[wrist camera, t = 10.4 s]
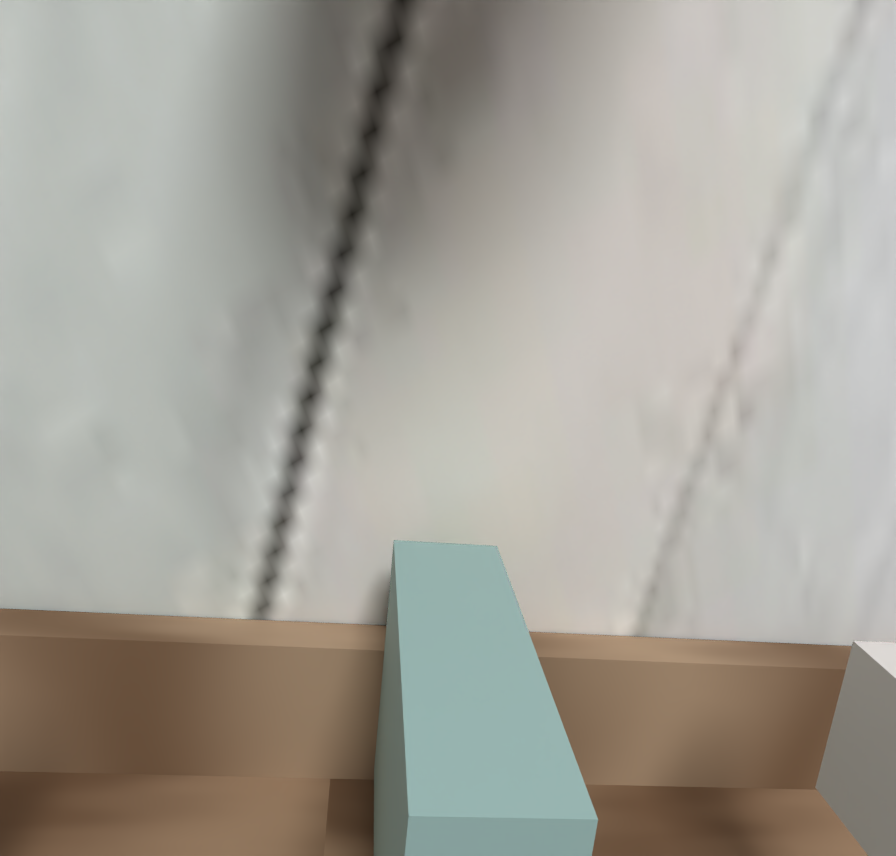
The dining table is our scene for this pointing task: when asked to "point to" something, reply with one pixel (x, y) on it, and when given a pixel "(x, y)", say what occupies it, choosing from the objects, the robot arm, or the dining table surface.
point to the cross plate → (469, 719)
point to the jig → (355, 734)
